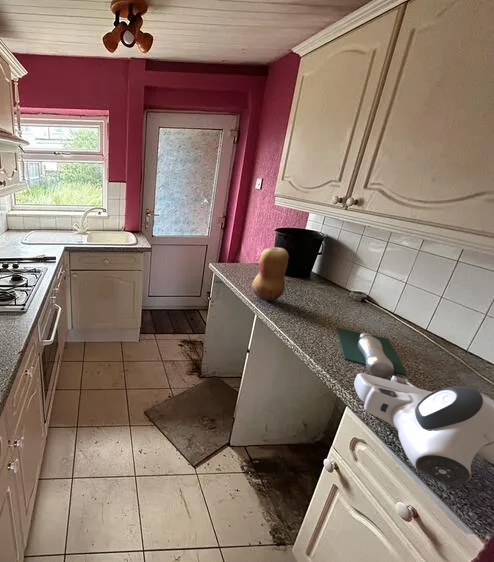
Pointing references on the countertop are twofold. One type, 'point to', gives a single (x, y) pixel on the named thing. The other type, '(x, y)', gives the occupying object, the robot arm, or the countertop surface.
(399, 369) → the rubber mat
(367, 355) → the plastic bottle
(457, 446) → the robot arm
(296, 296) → the countertop surface
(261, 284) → the butternut squash
